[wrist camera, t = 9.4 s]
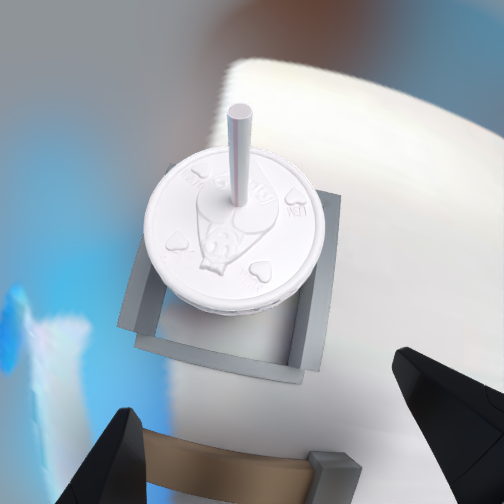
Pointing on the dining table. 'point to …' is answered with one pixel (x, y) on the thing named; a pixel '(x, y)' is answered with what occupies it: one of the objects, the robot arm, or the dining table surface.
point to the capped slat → (248, 473)
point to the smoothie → (234, 225)
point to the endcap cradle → (300, 359)
